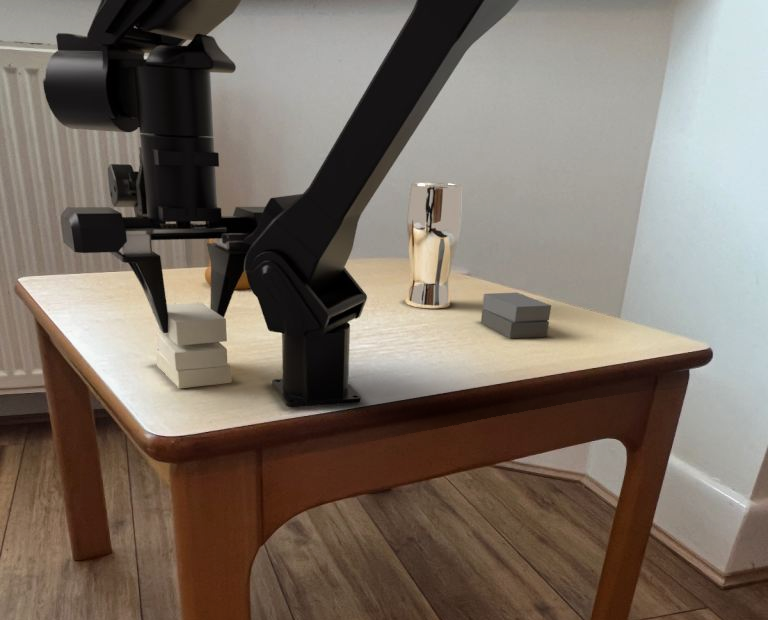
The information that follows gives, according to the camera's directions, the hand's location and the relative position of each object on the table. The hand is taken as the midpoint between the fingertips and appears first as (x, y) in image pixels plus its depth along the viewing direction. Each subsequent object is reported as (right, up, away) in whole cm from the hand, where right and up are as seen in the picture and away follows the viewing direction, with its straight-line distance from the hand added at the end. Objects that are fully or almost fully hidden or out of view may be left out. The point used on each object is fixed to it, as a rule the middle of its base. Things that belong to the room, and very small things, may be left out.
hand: (190, 330), depth 67 cm
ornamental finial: (-4, +16, +39) cm, 43 cm away
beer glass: (+23, +12, +35) cm, 43 cm away
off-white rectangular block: (0, 0, 0) cm, 0 cm away
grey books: (+33, +6, +24) cm, 41 cm away
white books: (0, -4, +2) cm, 4 cm away
